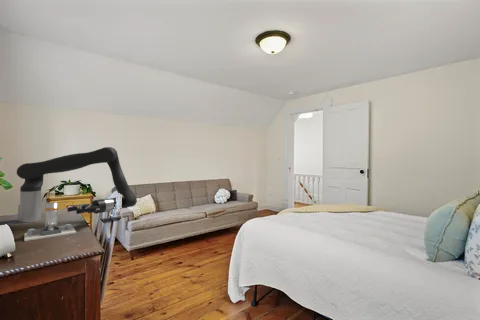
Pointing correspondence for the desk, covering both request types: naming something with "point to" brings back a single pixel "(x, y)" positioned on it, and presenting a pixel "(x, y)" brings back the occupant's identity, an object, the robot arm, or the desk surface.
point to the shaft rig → (49, 232)
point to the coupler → (51, 216)
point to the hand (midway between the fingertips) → (72, 210)
